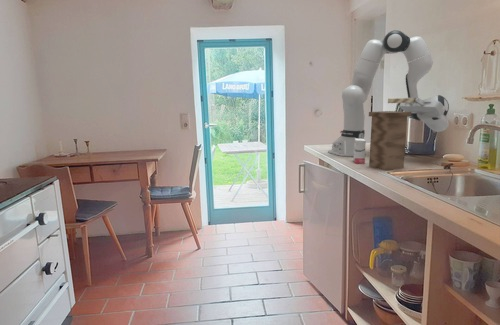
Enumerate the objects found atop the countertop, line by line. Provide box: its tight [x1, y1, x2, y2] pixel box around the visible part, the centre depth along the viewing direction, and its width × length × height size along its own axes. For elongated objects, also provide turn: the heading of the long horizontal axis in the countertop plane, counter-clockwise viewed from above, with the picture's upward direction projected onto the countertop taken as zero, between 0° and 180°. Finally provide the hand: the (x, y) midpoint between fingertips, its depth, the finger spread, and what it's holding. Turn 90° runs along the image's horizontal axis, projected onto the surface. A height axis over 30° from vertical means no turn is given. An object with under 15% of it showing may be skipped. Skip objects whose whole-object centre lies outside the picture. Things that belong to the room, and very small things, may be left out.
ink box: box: [353, 138, 367, 164], centre depth 178 cm, size 9×5×12 cm, turn 168°
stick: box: [387, 97, 415, 104], centre depth 165 cm, size 20×2×2 cm, turn 120°
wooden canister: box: [368, 110, 411, 171], centre depth 164 cm, size 12×14×26 cm
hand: (412, 98), depth 168 cm, fingers closed on stick, 2 cm apart
